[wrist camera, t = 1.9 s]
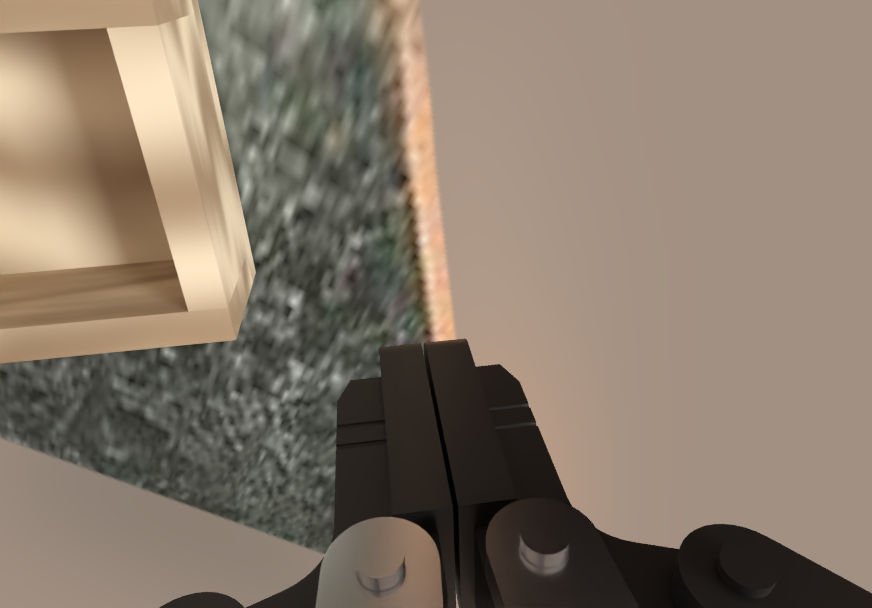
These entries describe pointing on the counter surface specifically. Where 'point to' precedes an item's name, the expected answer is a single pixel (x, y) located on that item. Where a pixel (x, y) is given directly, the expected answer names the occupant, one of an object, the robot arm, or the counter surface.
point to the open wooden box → (114, 182)
